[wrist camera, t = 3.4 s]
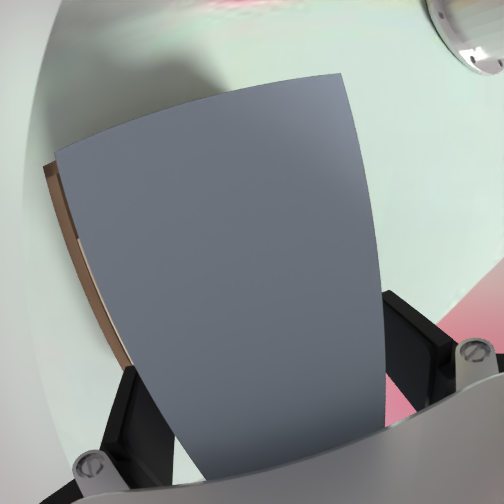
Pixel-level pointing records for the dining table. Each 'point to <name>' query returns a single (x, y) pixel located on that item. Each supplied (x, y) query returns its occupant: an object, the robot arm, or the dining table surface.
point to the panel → (240, 268)
